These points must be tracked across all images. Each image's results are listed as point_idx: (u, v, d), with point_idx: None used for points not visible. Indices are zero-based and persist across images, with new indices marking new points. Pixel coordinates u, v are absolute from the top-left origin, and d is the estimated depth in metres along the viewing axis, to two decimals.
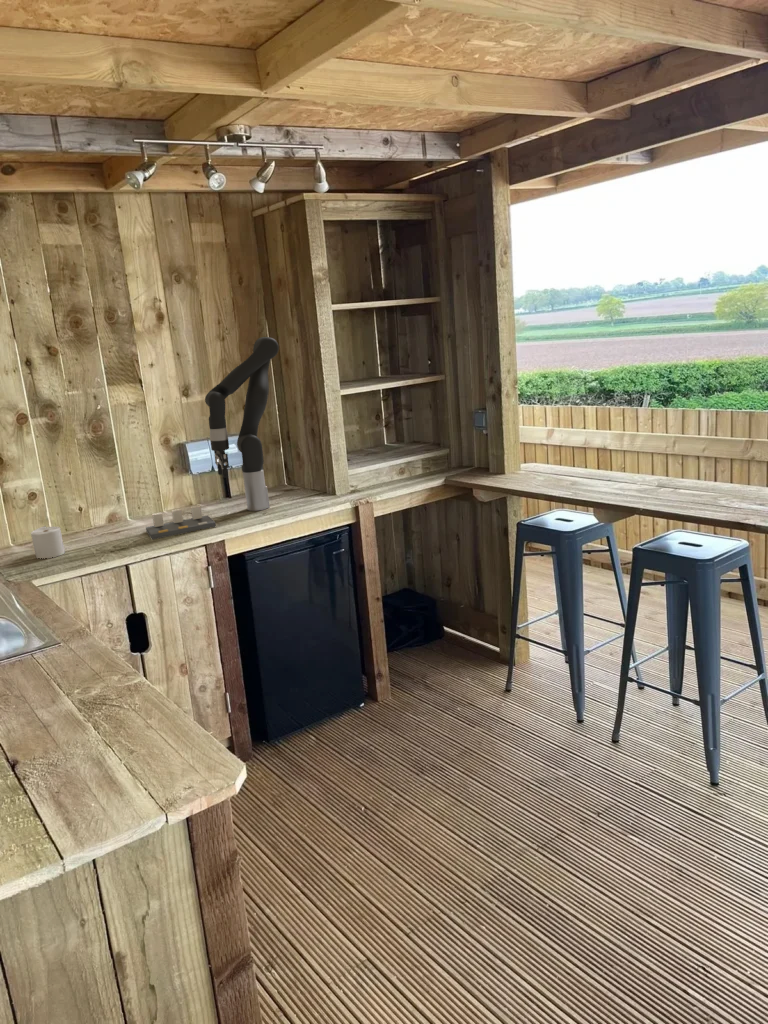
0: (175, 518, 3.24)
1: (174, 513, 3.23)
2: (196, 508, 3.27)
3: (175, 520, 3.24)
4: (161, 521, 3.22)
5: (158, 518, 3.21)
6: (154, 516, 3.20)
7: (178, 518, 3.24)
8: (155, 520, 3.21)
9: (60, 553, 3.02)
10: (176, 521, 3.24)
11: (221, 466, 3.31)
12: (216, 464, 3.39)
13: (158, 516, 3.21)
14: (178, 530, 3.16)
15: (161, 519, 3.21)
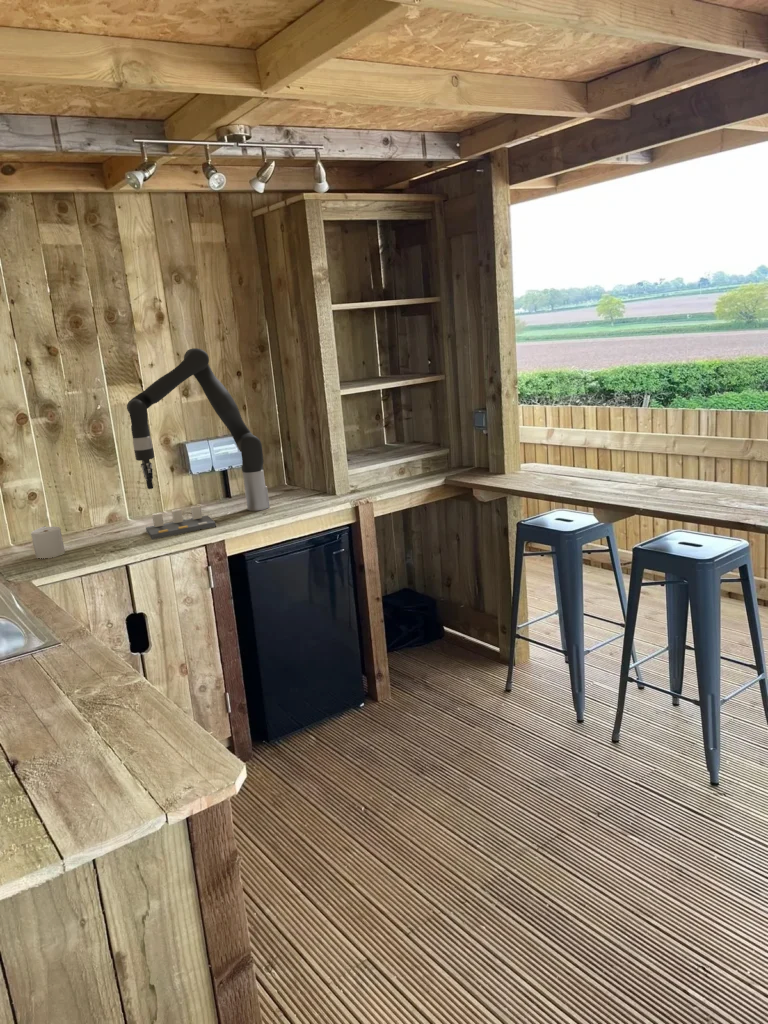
0: (175, 518, 3.24)
1: (174, 513, 3.23)
2: (196, 508, 3.27)
3: (175, 520, 3.24)
4: (161, 521, 3.22)
5: (158, 518, 3.21)
6: (154, 516, 3.20)
7: (178, 518, 3.24)
8: (155, 520, 3.21)
9: (60, 553, 3.02)
10: (176, 521, 3.24)
11: (145, 476, 3.23)
12: (145, 478, 3.25)
13: (158, 516, 3.21)
14: (178, 530, 3.16)
15: (161, 519, 3.21)
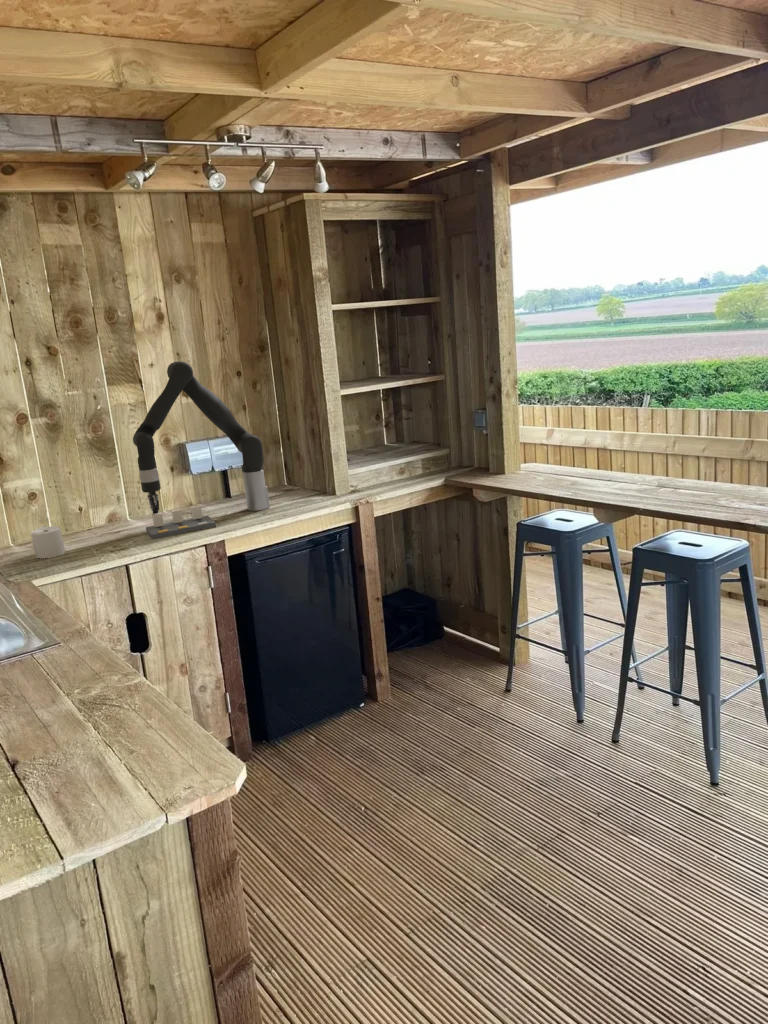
0: (175, 518, 3.24)
1: (174, 513, 3.23)
2: (196, 508, 3.27)
3: (175, 520, 3.24)
4: (161, 521, 3.22)
5: (158, 518, 3.21)
6: (154, 516, 3.20)
7: (178, 518, 3.24)
8: (155, 520, 3.20)
9: (60, 553, 3.02)
10: (176, 521, 3.24)
11: (151, 508, 3.24)
12: (151, 509, 3.25)
13: (158, 516, 3.21)
14: (178, 530, 3.16)
15: (161, 519, 3.21)
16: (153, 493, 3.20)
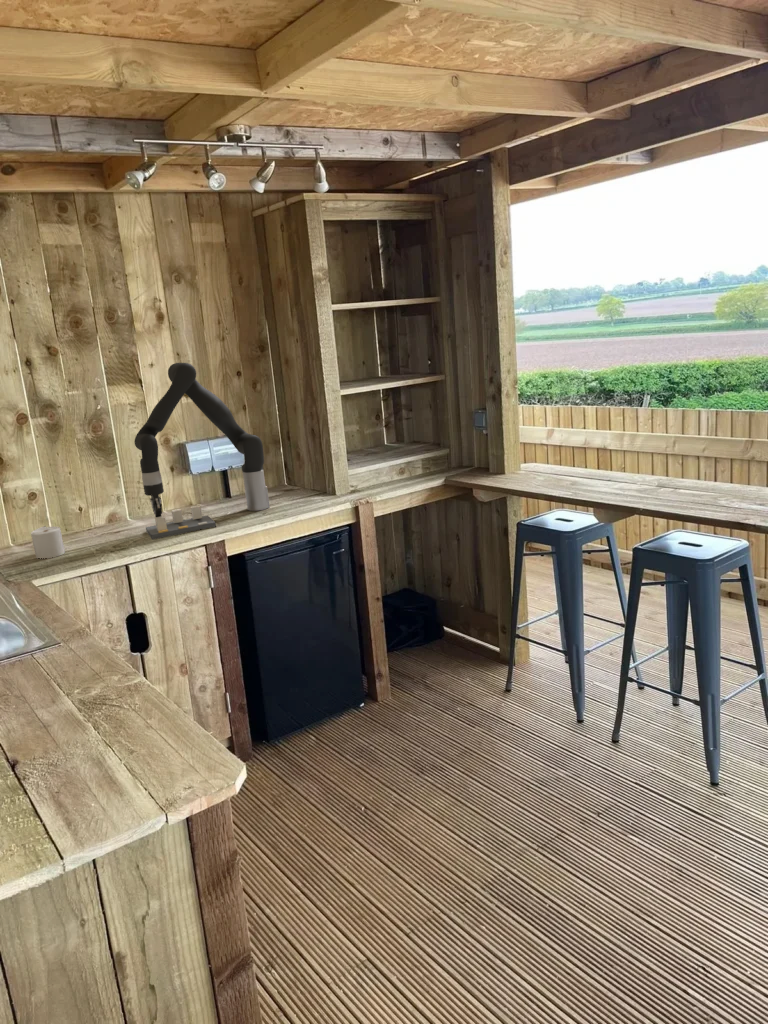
0: (175, 518, 3.24)
1: (174, 513, 3.23)
2: (196, 508, 3.27)
3: (175, 520, 3.24)
4: (164, 525, 3.15)
5: (161, 522, 3.15)
6: (157, 520, 3.14)
7: (178, 518, 3.24)
8: (158, 524, 3.14)
9: (60, 553, 3.02)
10: (176, 521, 3.24)
11: (154, 511, 3.18)
12: (154, 513, 3.19)
13: (161, 520, 3.14)
14: (178, 530, 3.16)
15: (164, 523, 3.15)
16: (156, 496, 3.13)
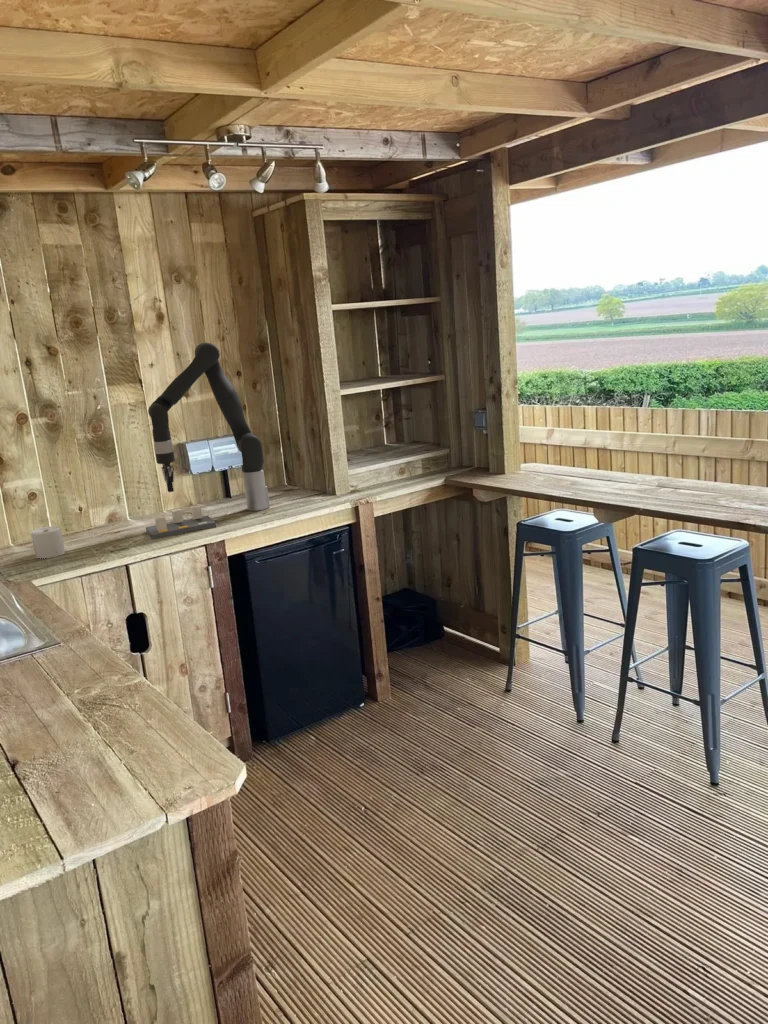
0: (175, 518, 3.24)
1: (174, 513, 3.23)
2: (196, 508, 3.27)
3: (175, 520, 3.24)
4: (164, 525, 3.15)
5: (161, 522, 3.15)
6: (157, 520, 3.14)
7: (178, 518, 3.24)
8: (158, 524, 3.14)
9: (60, 553, 3.02)
10: (176, 521, 3.24)
11: (166, 480, 3.27)
12: (165, 481, 3.28)
13: (161, 520, 3.14)
14: (178, 530, 3.16)
15: (164, 523, 3.15)
16: (168, 464, 3.23)
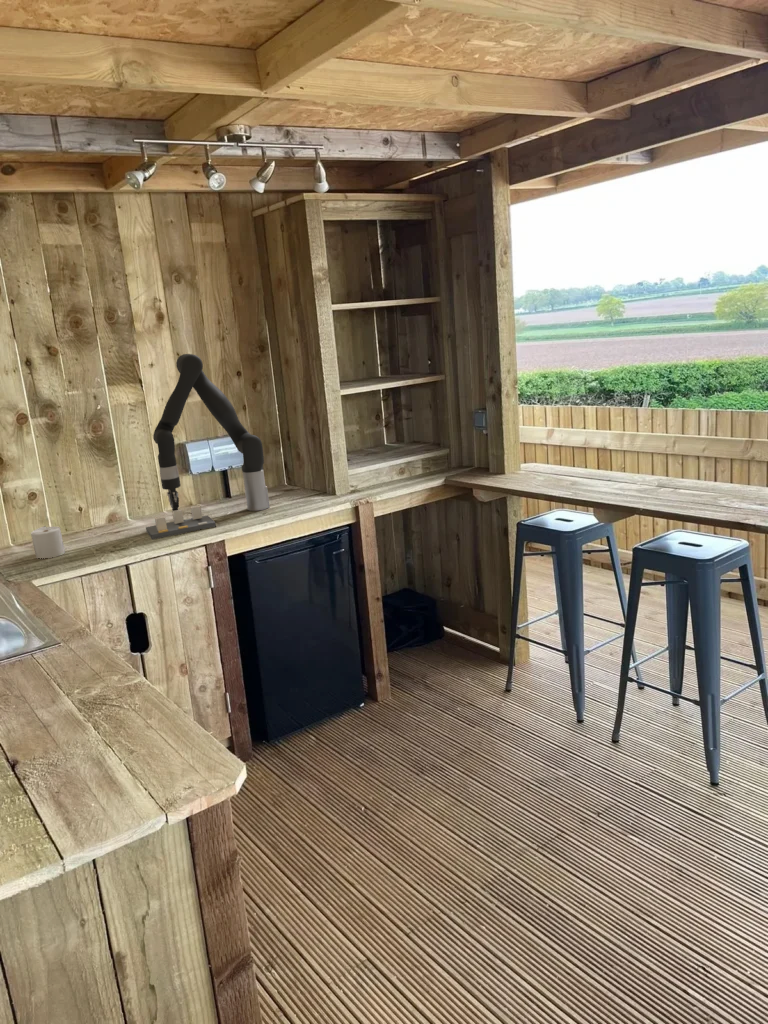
0: (176, 519, 3.23)
1: (175, 514, 3.22)
2: (196, 508, 3.27)
3: (176, 521, 3.23)
4: (164, 525, 3.15)
5: (161, 522, 3.15)
6: (157, 520, 3.14)
7: (178, 519, 3.23)
8: (158, 524, 3.14)
9: (60, 553, 3.02)
10: (177, 522, 3.23)
11: (171, 505, 3.26)
12: (171, 506, 3.27)
13: (161, 520, 3.14)
14: (178, 530, 3.16)
15: (164, 523, 3.15)
16: (173, 490, 3.22)
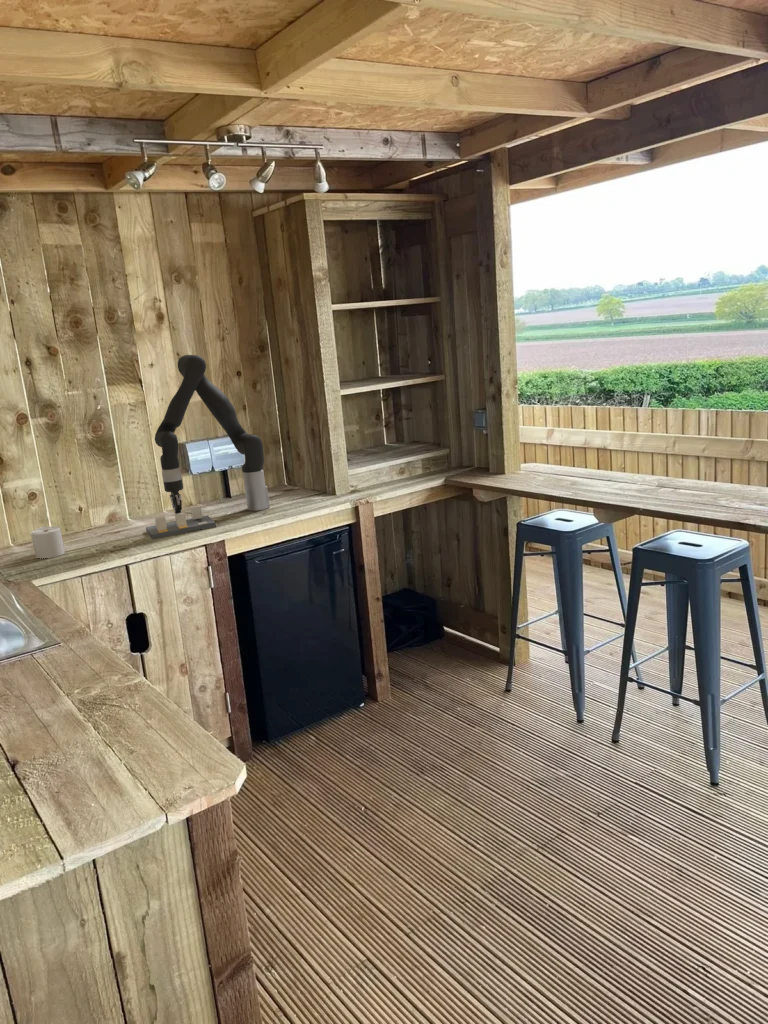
0: (178, 522, 3.18)
1: (177, 516, 3.17)
2: (196, 508, 3.27)
3: (178, 524, 3.18)
4: (164, 525, 3.15)
5: (161, 522, 3.15)
6: (157, 520, 3.14)
7: (181, 522, 3.18)
8: (158, 524, 3.14)
9: (60, 553, 3.02)
10: (179, 525, 3.18)
11: (174, 508, 3.21)
12: None
13: (161, 520, 3.14)
14: (178, 530, 3.16)
15: (164, 523, 3.15)
16: (176, 493, 3.17)
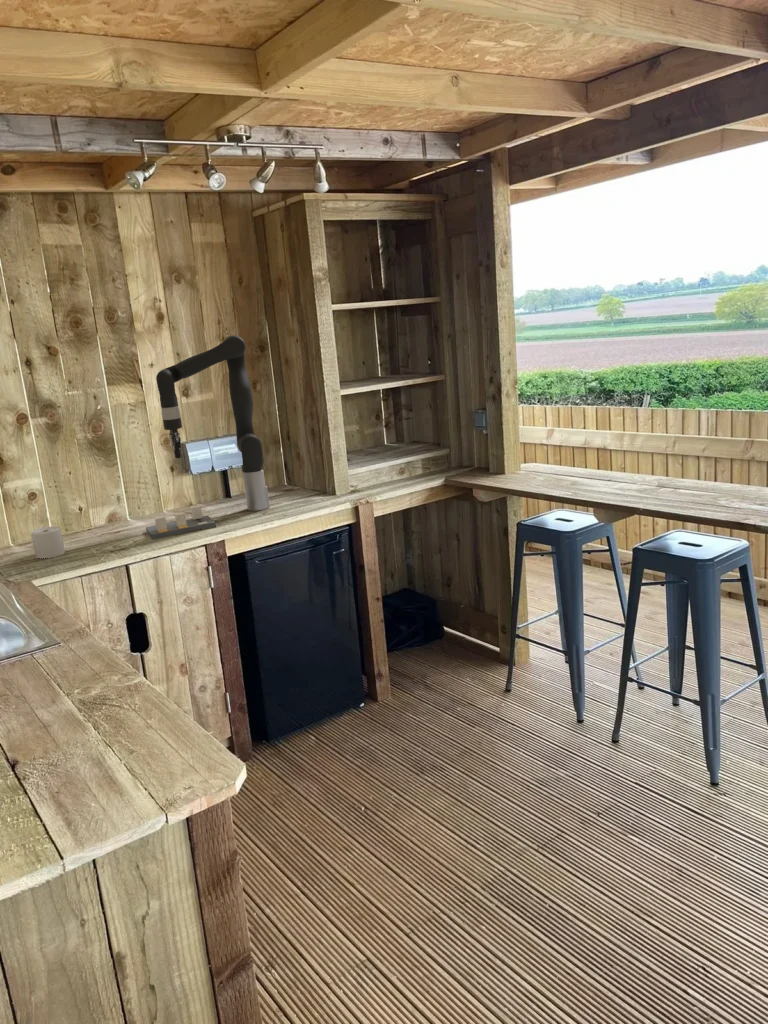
0: (178, 522, 3.18)
1: (177, 516, 3.17)
2: (196, 508, 3.27)
3: (178, 524, 3.18)
4: (164, 525, 3.15)
5: (161, 522, 3.15)
6: (157, 520, 3.14)
7: (181, 522, 3.18)
8: (158, 524, 3.14)
9: (60, 553, 3.02)
10: (179, 525, 3.18)
11: (173, 446, 3.30)
12: None
13: (161, 520, 3.14)
14: (178, 530, 3.16)
15: (164, 523, 3.15)
16: (175, 430, 3.26)
